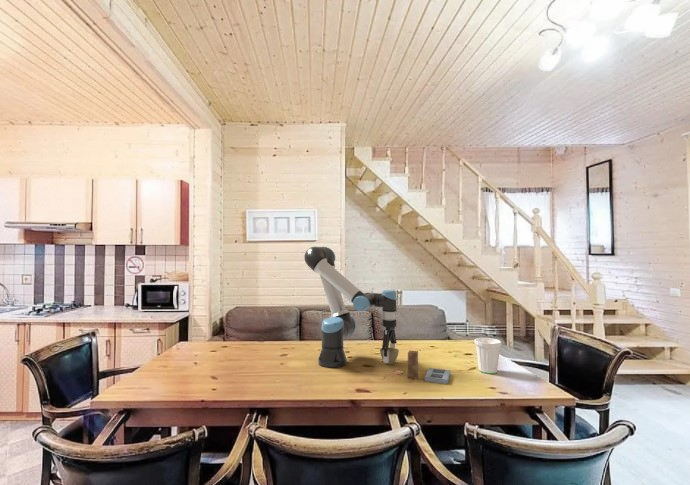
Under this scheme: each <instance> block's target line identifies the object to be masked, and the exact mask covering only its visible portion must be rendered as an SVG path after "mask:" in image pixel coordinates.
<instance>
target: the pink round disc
mask: <svg viewBox="0 0 690 485" xmlns="http://www.w3.org/2000/svg"><path fill="white" fill-rule="evenodd" d="M393 374H395V375H402V374H404V371H403V370H393Z"/></svg>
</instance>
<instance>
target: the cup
mask: <svg viewBox="0 0 690 485" xmlns="http://www.w3.org/2000/svg"><path fill="white" fill-rule="evenodd" d="M474 344H475V347H476V348H475V349H476V356H477V364H478V371H479V372H480V373H482V374H486V375H495V374H497V373H498V368H499V367H498V366H499V357H500V351H501V349H500V348H501V346H502V341H501V340H500V339H498V338H490V337H476V338H474Z"/></svg>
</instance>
